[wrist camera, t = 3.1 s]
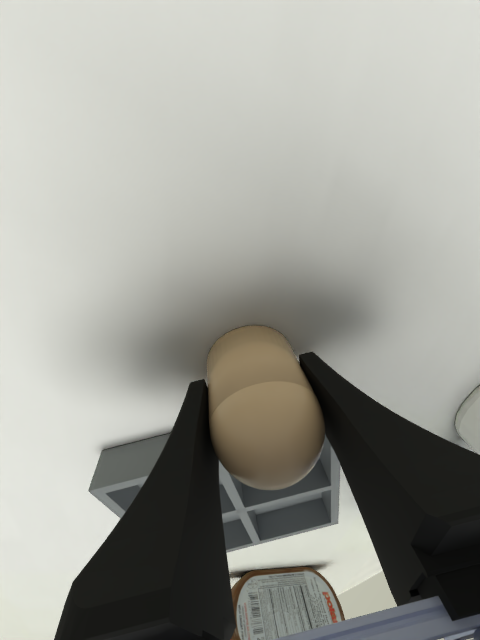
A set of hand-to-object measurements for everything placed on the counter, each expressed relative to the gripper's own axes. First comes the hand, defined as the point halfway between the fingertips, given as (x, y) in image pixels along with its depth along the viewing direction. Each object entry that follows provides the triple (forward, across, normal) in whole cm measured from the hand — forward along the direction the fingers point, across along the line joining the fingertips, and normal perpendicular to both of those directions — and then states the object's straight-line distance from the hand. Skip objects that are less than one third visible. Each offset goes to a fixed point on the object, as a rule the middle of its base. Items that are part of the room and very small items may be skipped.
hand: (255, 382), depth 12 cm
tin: (+2, +3, +37) cm, 37 cm away
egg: (+1, 0, 0) cm, 1 cm away
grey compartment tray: (+2, +3, +11) cm, 12 cm away
